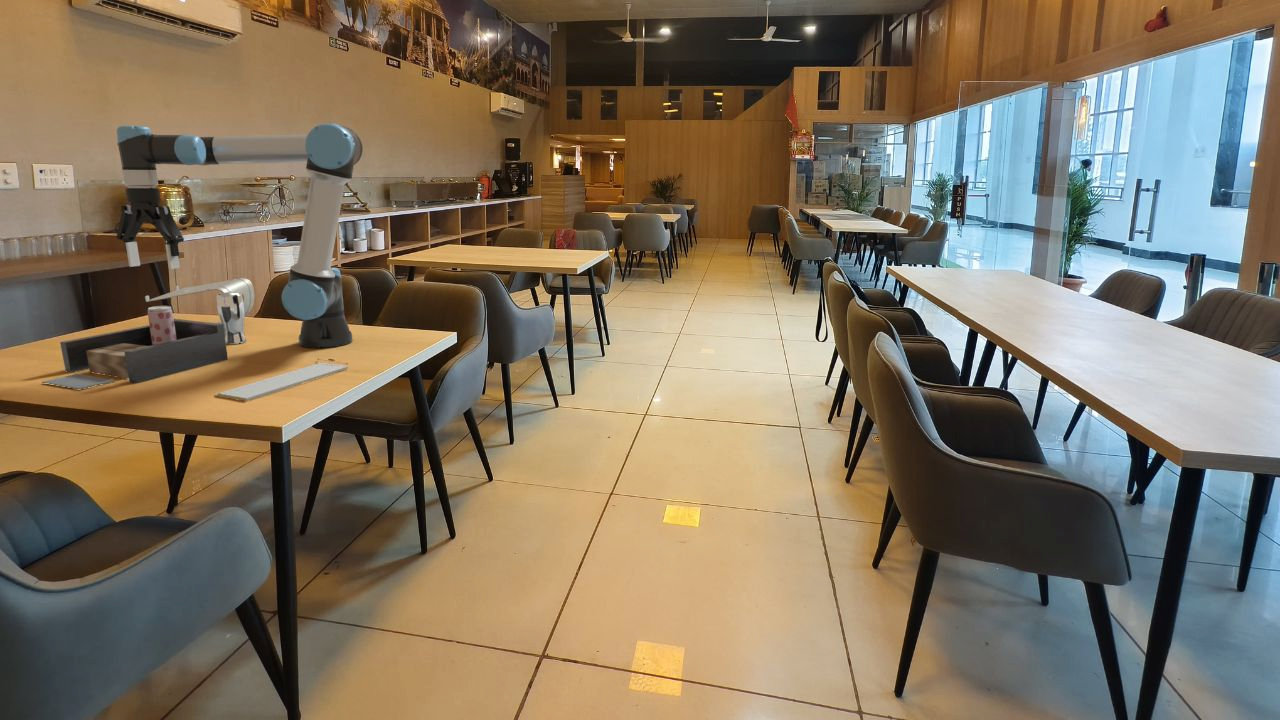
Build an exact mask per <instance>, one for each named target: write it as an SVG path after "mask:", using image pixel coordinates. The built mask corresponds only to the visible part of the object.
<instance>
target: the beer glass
mask: <svg viewBox="0 0 1280 720" xmlns="http://www.w3.org/2000/svg"><path fill="white" fill-rule="evenodd" d="M216 303H217V304H216V305H217V313H218V315H219V316H218V317H219V319H220V322H221V323H222V324H223V326H224V334H225V341H226V345H229V344H233V345H240V344H239V343H241V344H245V343H246V342H247V338H246V335H245V331H244V330H245V327H244V326H245V325H244V324H245V323H244V321H245V317H244V304H243V295H242V294H241V293H240V292H226V293H223V292H220V293H217V294H216ZM244 342H245V343H244Z"/></svg>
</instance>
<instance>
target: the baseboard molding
mask: <svg viewBox="0 0 1280 720" xmlns="http://www.w3.org/2000/svg"><path fill="white" fill-rule="evenodd" d="M319 360H320V361H321V359H319V358H317V361H315V363H314V364H313V365H309V366H305V367H302V368H299V369H295V370H293V371H290V372H285V373H283V374H278V375H276V376H272V377H269V378H265V379H262V380H258V381H255V382H252V383H248V384H245V385H242V386H238V387H235V388H231V389H228V390H223V391H222V392H218V393H216V394H214V397H217V396H220V397H219V398H223V397H226V398H225V399H228V398H232V399H231V400H234V399H238V400H237V401H239V400H244V401H243V402H245V401H247V402H249V401H248V400H250V401H252V400H251V399H254V400H256V399H255V398H257V399H259V398H258V397H260V398H262V397H261V396H263V397H266V396H269V395H271V393H273V394H275V393H274V392H276V393H278V391H279V392H281V391H280V390H282V391H284V390H283V389H285V390H287V389H286V388H288V389H290V388H289V387H291V388H293V387H292V386H295V385H298V384H301V383H303V382H307V381H310V380H313V379H316V378H320V377H323V376H326V375H329V376H331V375H330V374H332V375H334V374H333V373H336V372H339V371H342V372H344V371H343V370H345V371H347V370H346V369H348V370H349V366H348V365H347V362H346V363H345V362H344V364H345V365H342V364H341V365H340V364H333V363H334V362H336V361H335V359H333V358H332V359H331V358H328V360H326V359H325V360H324V361H326V363H325V362H320V363H318V361H319ZM327 361H330V362H333V363H328V362H327ZM337 363H341V362H338V361H337ZM346 365H347V366H346ZM339 373H340V372H339ZM336 374H337V373H336ZM326 377H327V376H326ZM323 378H324V377H323ZM320 379H321V378H320ZM313 381H314V380H313ZM310 382H311V381H310ZM307 383H308V382H307ZM301 385H302V384H301ZM298 386H299V385H298ZM295 387H296V386H295ZM268 394H269V395H268ZM265 395H266V396H265Z"/></svg>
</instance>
